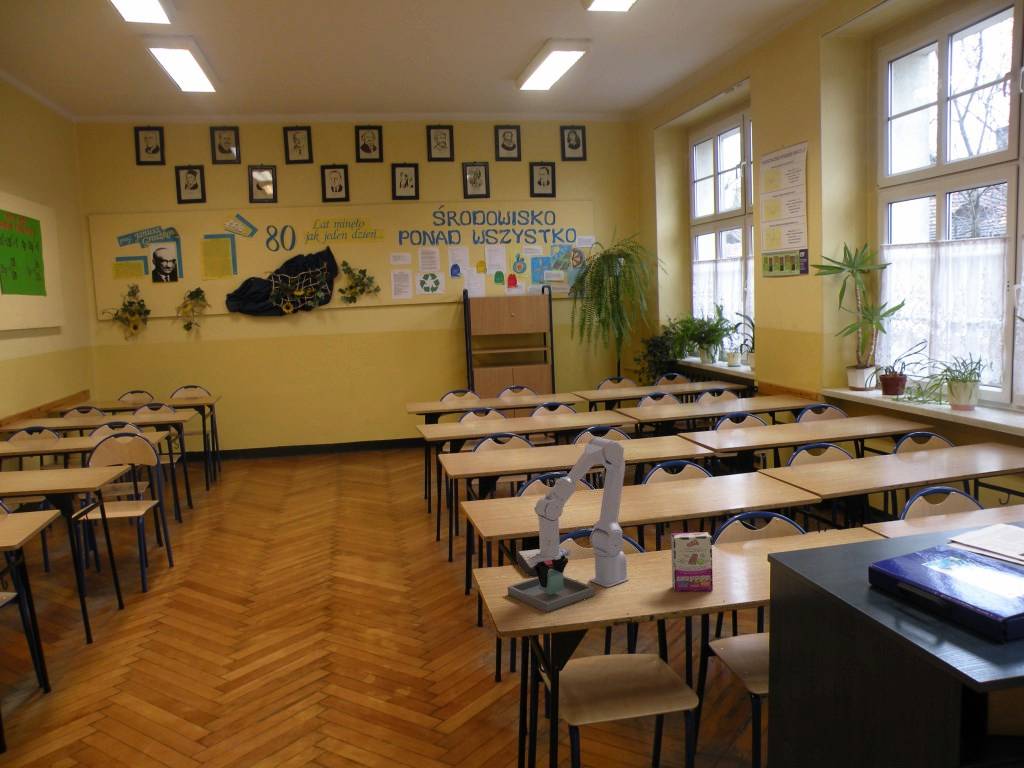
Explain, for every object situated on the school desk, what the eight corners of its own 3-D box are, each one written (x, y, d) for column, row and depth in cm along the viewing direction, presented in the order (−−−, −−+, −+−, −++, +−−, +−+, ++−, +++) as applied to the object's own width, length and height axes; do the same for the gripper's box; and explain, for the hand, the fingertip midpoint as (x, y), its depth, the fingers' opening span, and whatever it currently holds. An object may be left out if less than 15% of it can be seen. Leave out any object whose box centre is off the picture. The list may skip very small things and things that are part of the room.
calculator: (529, 566, 239) (516, 549, 254) (529, 579, 240) (517, 562, 254) (562, 562, 242) (548, 546, 256) (562, 575, 243) (548, 558, 257)
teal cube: (552, 585, 227) (552, 568, 226) (563, 589, 223) (563, 573, 222) (539, 589, 224) (538, 572, 223) (550, 594, 220) (550, 577, 219)
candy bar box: (708, 585, 228) (708, 531, 226) (713, 591, 223) (712, 536, 221) (671, 586, 228) (670, 532, 226) (674, 592, 223) (674, 537, 221)
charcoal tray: (554, 579, 236) (553, 571, 236) (594, 596, 222) (594, 587, 222) (507, 594, 225) (507, 586, 225) (547, 613, 211) (547, 604, 211)
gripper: (538, 547, 214) (540, 594, 216) (577, 536, 223) (578, 581, 225) (523, 541, 220) (524, 587, 221) (561, 531, 229) (562, 575, 230)
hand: (550, 584), depth 223 cm, fingers closed on teal cube, 5 cm apart
